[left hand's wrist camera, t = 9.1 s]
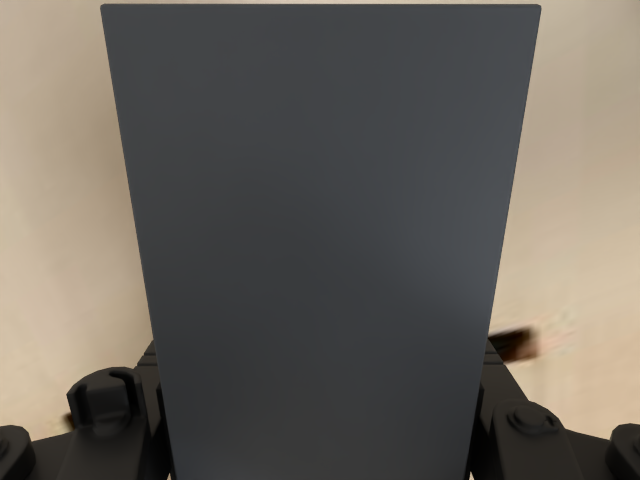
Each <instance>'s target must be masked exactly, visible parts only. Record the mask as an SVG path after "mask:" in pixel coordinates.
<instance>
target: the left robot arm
mask: <svg viewBox="0 0 640 480" xmlns="http://www.w3.org/2000/svg"><path fill="white" fill-rule="evenodd" d="M66 395H67V399H68V403H69V406H70V410H71V414H72V418H73V421H74V425H75V431H72V432H69V433H65V434H62V435H58V436H53V437H49V438H45V439H41V440H37V441H32V442H31V439H30V436H29V433H28V432H27V431H26V430H25V429H24V428H23V427H20V426H14V425H7V426H0V480H167V478H168V476H169V473H170V476H171V480H176V475H175V469H174V462H173V456H172V450H171V444H170V438H169V431H168V425H167V419H166V413H165V407H164V400H163V394H162V388H161V382H160V376H159V369H158V363H157V357H156V351H155V345H154V340H153V341H152V342H151V343H150V345H149V346H148V348H147V350H146V351H145V353H144V356H142V357H141V359H140V360H139V362H138V363H137V366H135V368H134V369H131V368H127V367H111V368H107V369H103V370H99V371H96V372H94V373H92V374H90V375H87V376H85V377H84V378H82V379H81V380H80V381H78V382H77V383H75V384H74V385H73V386H72V388H71V389H70V390H69V392H68V393H67V394H66ZM470 472H471V473H472V475H473V478H474V480H640V425H639V424H631V423H629V424H623V425H618V426H617V427H616V428H615V429H614V430H613V431H612V434H611V437H610V440H607V439H603V438H598V437H594V436H590V435H586V434H581V433H577V432H574V431H571V430H568V429H565V428H564V426H563V425H562V423H561V422H560V420H559V418H558V417H556V416H555V415H554V414H553V413H552V412H550V411H549V410H548V409H546V408H544V407H542V406H541V405H539V404H537V403H535V402H531V401H529V400H528V399H527V397H526V396H525V394H524V393H523V391H522V390H521V388H520V387H519V385H518V384H517V382H516V381H515V379H514V378H513V376H512V375H511V373H510V372H509V370H508V369H507V367H506V366H505V365H504V364H503V361H502V359H501V358H500V356H499V355H498V354H497V353H496V350H495V349H494V347H493V346H492V344H491V343H490V341H489V340H488V339H487V343H486V349H485V355H484V361H483V368H482V374H481V380H480V386H479V392H478V398H477V404H476V410H475V416H474V422H473V428H472V435H471V441H470V447H469V453H468V459H467V465H466V471H465V477H464V480H469V478H470Z"/></svg>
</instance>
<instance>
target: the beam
mask: <svg viewBox="0 0 640 480" xmlns="http://www.w3.org/2000/svg"><path fill="white" fill-rule="evenodd" d="M100 10H101V16H102V22H103V28H104V35H105V41H106V47H107V53H108V59H109V66H110V72H111V78H112V84H113V90H114V97H115V103H116V109H117V115H118V121H119V128H120V134H121V140H122V146H123V152H124V159H125V165H126V171H127V177H128V183H129V190H130V196H131V202H132V208H133V214H134V221H135V227H136V233H137V239H138V245H139V252H140V258H141V264H142V270H143V276H144V283H145V289H146V295H147V301H148V307H149V314H150V320H151V326H152V332H153V338H154V345H155V351H156V357H157V363H158V369H159V376H160V382H161V388H162V394H163V400H164V407H165V413H166V419H167V425H168V431H169V438H170V444H171V450H172V456H173V462H174V469H175V475H176V480H464V477H465V471H466V465H467V459H468V453H469V447H470V441H471V435H472V428H473V422H474V416H475V410H476V404H477V398H478V392H479V386H480V380H481V374H482V368H483V361H484V355H485V349H486V343H487V337H488V331H489V325H490V319H491V313H492V307H493V301H494V295H495V288H496V282H497V276H498V270H499V264H500V258H501V252H502V246H503V240H504V234H505V228H506V221H507V215H508V209H509V203H510V197H511V191H512V185H513V179H514V173H515V167H516V161H517V155H518V148H519V142H520V136H521V130H522V124H523V118H524V112H525V106H526V100H527V94H528V88H529V81H530V75H531V69H532V63H533V57H534V51H535V45H536V39H537V33H538V27H539V21H540V15H541V6H540V5H538V4H103V5H101V7H100Z"/></svg>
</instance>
